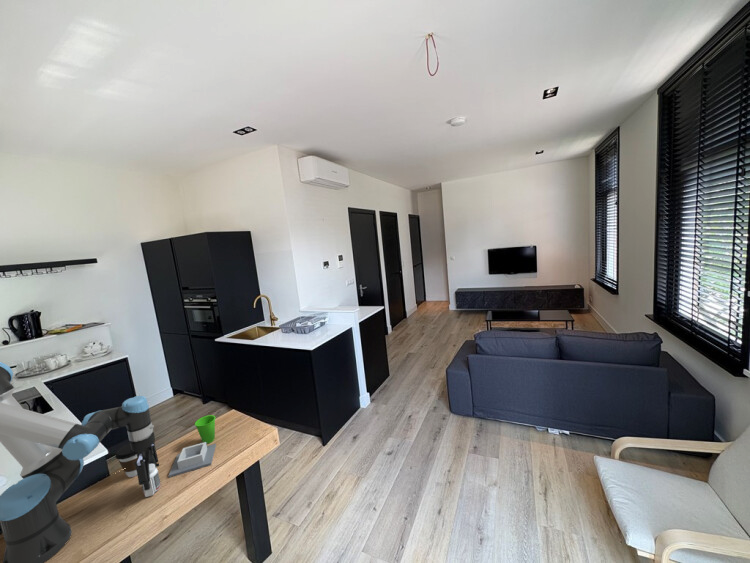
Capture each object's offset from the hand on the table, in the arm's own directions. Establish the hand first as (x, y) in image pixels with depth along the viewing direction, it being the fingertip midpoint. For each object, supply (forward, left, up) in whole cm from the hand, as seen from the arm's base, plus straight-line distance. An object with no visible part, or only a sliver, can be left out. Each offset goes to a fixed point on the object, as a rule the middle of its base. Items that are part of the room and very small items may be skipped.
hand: (152, 489), depth 120 cm
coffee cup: (-11, +16, -1) cm, 19 cm away
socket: (+12, +12, -1) cm, 17 cm away
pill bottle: (0, 0, -1) cm, 1 cm away
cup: (+16, +25, -1) cm, 30 cm away
